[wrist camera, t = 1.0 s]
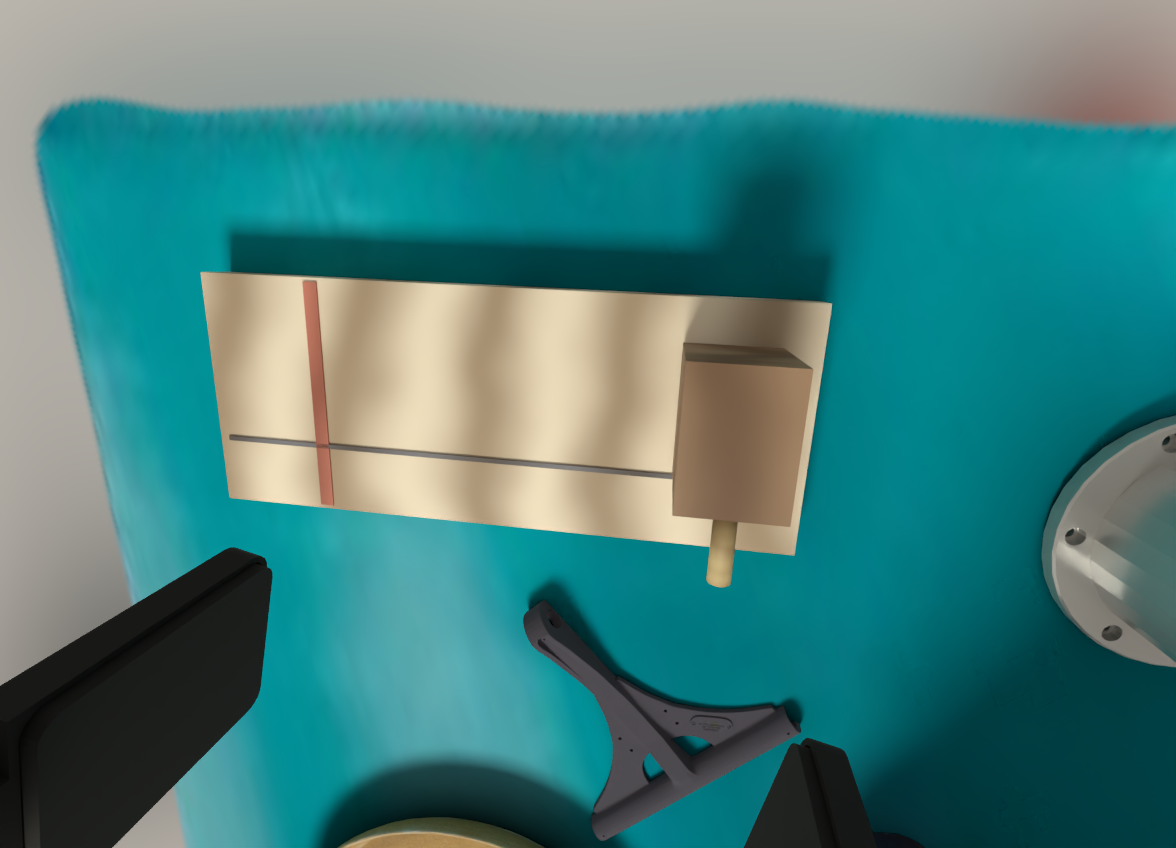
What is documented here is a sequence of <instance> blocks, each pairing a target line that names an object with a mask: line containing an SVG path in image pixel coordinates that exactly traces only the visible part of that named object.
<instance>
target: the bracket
mask: <svg viewBox="0 0 1176 848" xmlns="http://www.w3.org/2000/svg"><path fill="white" fill-rule="evenodd" d="M548 617H549V619H550V620H551V621H552V623H553V626H554V627H553V626H552V625H551V623H550V622H549V620H548ZM523 623H524V629H525V632H526V635H527V637H528V639H529V641H530V643H531V644H532V646H533V647H534V648H535V649H536V650H538V651H539V652H540V653H542V654H544V655H545V656H547V657H548V658H550V659H551V660H552V661H554V662H555V663H556V664H558V665H559V666H560V667H561V668H563V669H564V670H565V671H567V672H568V673H569V674H570V675H572V676H573V677H574V678H576V679H577V680H578V681H579V682H581V683H582V684H583V685H584V686H585V687H586V688H587V689H589V690H590V691H591V692H592V693H593V694H594V695H595V697H596V699H597V701H598V703H599V705H600V707H601V709H602V711H603V713H604V715H605V717H606V720H607V723H608V726H609V729H610V733H611V737H612V741H613V761H612V767H611V771H610V775H609V778H608V781H607V783H606V786H605V788H604V790H603V792H602V793H601V795H600V797H599V799H598V800H597V802H596V803H595V805H594V812H595V813H593V814H592V815H591V824H592V828H593V831H594V833H595V835H596V837H597V838H598V839H599V840H601V841H605V840H607V839H609V838H610V837H612V836H614V835H616V834H618V833H620V832H621V831H623V830H625V829H627V828H629V827H630V826H632V825H634V824H636V823H638V822H640V821H641V820H643V819H645V818H647V817H649V816H650V815H652V814H654V813H656V812H658V811H659V810H661V809H663V808H665V807H667V806H669V805H670V804H672V803H674V802H676V801H678V800H679V799H681V798H683V797H685V796H687V795H688V794H690V793H692V792H694V791H696V790H698V789H699V788H701V787H703V786H705V785H707V784H708V783H710V782H712V781H714V780H716V779H718V778H719V777H721V776H723V775H725V774H727V773H728V772H730V771H732V770H734V769H736V768H737V767H739V766H741V765H743V764H745V763H747V762H748V761H750V760H752V759H754V758H756V757H757V756H759V755H761V754H763V753H765V752H767V751H768V750H770V749H772V748H774V747H776V746H777V745H779V744H781V743H783V742H785V741H786V740H788V739H790V738H792V737H794V736H796V735H797V734H799V733H800V732H801V728H800V725H799V724H798V723H797V722H796V721H794V722H792V723H791V722H790V720H789V719H788V717H787V715H786V713H785V708H784V707H783V705H782V706H781V707H779V708H777V709H775V708H774V707H773V706H772V705H765V706H758V707H750V708H741V709H711V708H700V707H693V706H687V705H682V704H676V703H673V702H670V701H667V700H665V699H662V698H660V697H657V696H655V695H652V694H650V693H648V692H646V691H644V690H642V689H640V688H638V687H637V686H635V685H633V684H632V683H630V682H628V681H627V680H625V679H623V678H622V677H620V676H617V677H616V676H615V675H614V674H613V673H612V672H611V671H610V670H609V669H608V668H607V667H606V666H605V665H604V664H603V663H602V661H601V660H600V659H599V658H598V657H597V656H596V655H595V654H594V653H593V652H592V651H591V649H590V648H589V647H588V646H587V645H586V644H585V643H584V642H583V641H582V640H581V639H580V638H579V636H578V635H577V634H576V633H575V632H574V631H573V630H572V629H571V628H570V627H569V626H568V624H567V623H566V622H565V621H564V620H563V619H562V618H561V617H560V616H559V615H558V614H557V612H556V611H555V610H554V609H553V608H552V607H551V606H550V605H549V604H548V603H547V602H546V601H545V600H543V601H541V602H540V603H538V604H537V605H536V606H534V607H533V608H532V609H530V610H529V611H527V612H526V614H525V615H524V618H523ZM678 736H696V737H699V738H702V739H704V740H706V741H708V742H709V743H711V744H712V746H710V747H709V748H707V749H705V750H703V751H702V752H700V753H698V754H696V755H694V756H690V755H689V754H687V753H686V752H685V751H684V750H683V749H682V748H681V747H680V746H679V745H678V744H677V743H676V742H675V741H674V740H673V738H675V737H678ZM649 752H650V754H651V755H652V756H653V757H654V759H655V760H656V761H657V762H658V764H659V765H660V766H661V767H662V769H663V770H664V771H665V773H663V774H661V775H660V776H658V777H656V778H654V779H653V780H651V781H650V780H649V779H648V778H647V776H646V774H645V772H644V770H643V761H644V759H645V757H646V756H647V754H648V753H649Z"/></svg>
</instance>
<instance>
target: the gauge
mask: <svg viewBox="0 0 1176 848" xmlns="http://www.w3.org/2000/svg"><path fill="white" fill-rule="evenodd" d="M813 370H814V369H812V368H811V367H810V366H808V365H807V364H806V363H804V362H803V361H801V360H800V359H799V358H797V357H796V356H794V355H793V354H792V353H790V352H789V351H787V350H786V349H785V348H769V347H753V346H736V345H719V344H702V343H686V342H683V351H682V362H681V374H680V386H679V397H678V409H677V420H676V432H675V444H674V455H673V467H672V516H680V517H690V518H700V519H711V520H713V523H712V532H711V541H710V550H709V560H708V569H707V578H706V580H707V582H708V583H709V584H711V585H713V586H716V587H727V586H729V585H730V584H731V576H732V568H733V559H734V551H735V543H736V535H737V526H738V522H742V523H752V524H763V525H773V526H783V527H790V526H791V519H792V512H793V506H794V499H795V492H796V485H797V478H798V472H799V465H800V458H801V451H802V444H803V438H804V431H805V424H806V417H807V410H808V404H809V397H810V390H811V383H812V376H813Z"/></svg>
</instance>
